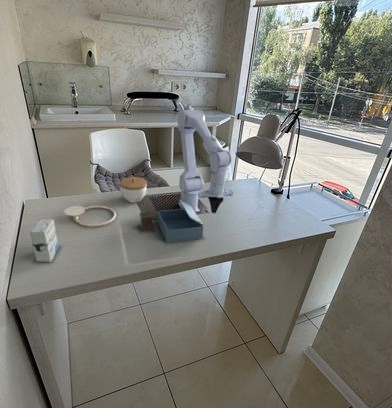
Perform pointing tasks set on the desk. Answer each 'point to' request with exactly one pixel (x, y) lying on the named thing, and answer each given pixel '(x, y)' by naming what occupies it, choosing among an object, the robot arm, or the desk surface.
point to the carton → (178, 225)
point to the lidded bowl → (133, 189)
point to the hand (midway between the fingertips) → (213, 212)
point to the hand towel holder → (78, 210)
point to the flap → (190, 212)
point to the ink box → (44, 240)
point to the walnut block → (146, 221)
